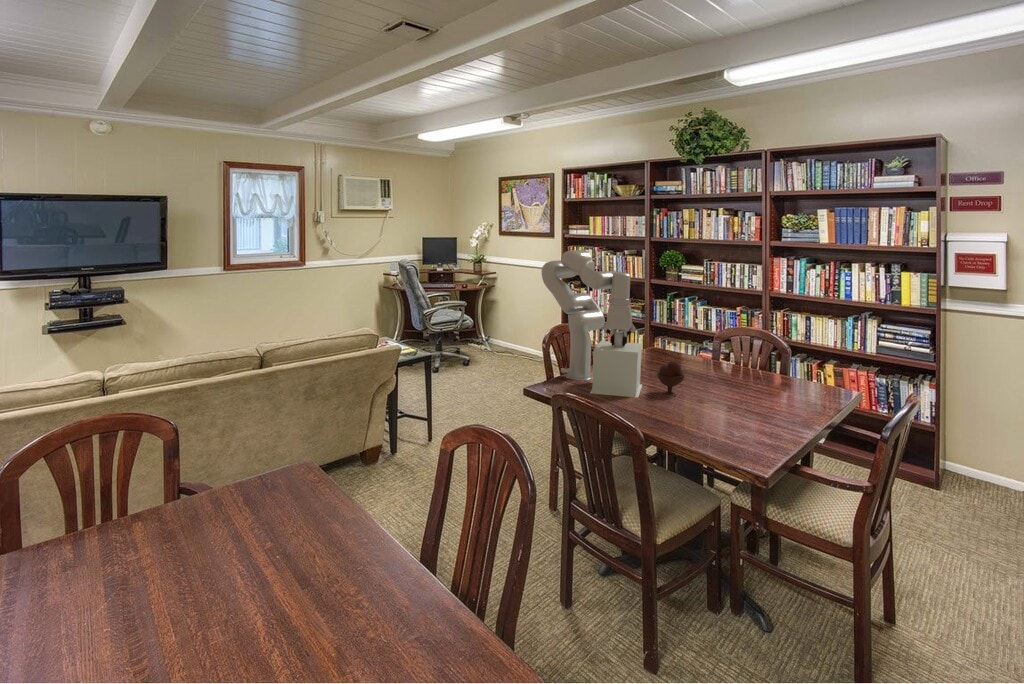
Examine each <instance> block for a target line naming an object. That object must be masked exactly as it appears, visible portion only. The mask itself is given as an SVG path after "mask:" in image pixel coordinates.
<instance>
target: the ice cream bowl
mask: <svg viewBox="0 0 1024 684" xmlns="http://www.w3.org/2000/svg"><path fill="white" fill-rule="evenodd" d="M656 373H657V377H658V380H659V382H660V383H662V384H663V385H664V386H666V387H667V391H665V392H664V394H665V395H670V396H671V395H674V396H673V398H676V397H677V395H676V393H675V392H673V387H675V386H677V385H679V384H681V383H682V382H683V380H684V379H685V374H684V373H683V370H682V366H681V364H680V363H679V362H678V361H675V360H674V361H669V362H668V363H666V364H663V365H661V367H660V368H659V370H658V371H657V372H656ZM675 396H676V397H675Z"/></svg>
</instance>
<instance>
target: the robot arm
mask: <svg viewBox="0 0 1024 684" xmlns="http://www.w3.org/2000/svg"><path fill="white" fill-rule="evenodd" d="M577 275H578V276H579V278H580V280H581V282H582V283H583V284H584V285H585V286H587V287H589V288H591V289H593V290H608V289H609V290H610V289H611V291H610V293H611V294H610V295H611V297H610V298H607V303H610V305H608V308H607V313H606V314H607V316H606V318H605V316H604V313H603V311H602V310H601V309H600V306H598V304H597V302H596V301H595V299H594V298H593V297H592V295H590V294H588V293H587V292H574V291H573V290H572V289H571V287H570V285H568V284H567V282H565V281H564V280H562V279H570V278H574V277H576V276H577ZM541 279H542V282H543V284H544V286H545V287H546V288H547V289H548V291H549V292H550V294H552V296H553V298H554V299H555V300H556V303H557V304H558V305H559V307H560V308H561V310H562V311H563V312H564V313H565V314H567V315H569V317H568V327H569V335H570V336H569V337H570V338H569V339H570V340H569V341H570V342H569V343H570V344H569V347H570V349H569V351H570V352H569V367H568V368H562V367H561V368H560V373H562V374H566V376H565V378H566V379H571V380H575V381H588V380H589V381H590V380H593V374H591V366H592V365H591V363H592V360H591V359H592V358H591V357H592V340H591V337H590V335H589V332H590V331H598V330H600V329H603V331H604V332H607V334H608V335H609V337H610V340H609V342H610V343H612V346H613V345H614V332H615V331H622V332H624V337H623V346H625V344H627V343H628V336H629V335H630V334H632V333H634V332H635V331H636V330H637V328H636V327H635V325H634V324H633V316H632V312H633V311H632V305H630V299H631V298H630V297H631V296H630V295H631V294H630V293H631V292H630V291H631V274H630V273H628V272H619V271H617V270H601V271H596V270H595V262H594V260H593V259H592V255H591V253H590V252H589V251H587V250H585V249H573V250H572V249H571V250H567V251H565V252H563V254H562V255H561V257H560V260H551V261H548V262H545V263H544V264H543V265H542V268H541ZM605 320H606V321H605Z"/></svg>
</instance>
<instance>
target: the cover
mask: <svg viewBox="0 0 1024 684" xmlns="http://www.w3.org/2000/svg"><path fill="white" fill-rule="evenodd" d="M623 337H624V331H614V345H613V346H612V343H610V340H609V341H607V340H600V341H599V342H598V344H597V345H596V346H595V347H594V348H593V355H592V357H593V358H592V360H593V361H592V375H593V378H592V386H591V387H592V389H591V390H592V393H591V394H593V393H603V394H602V395H604V394H614V395H613V396H615V395H625V396H624V397H626V396H636V395H637V392H638V389H639V386H640V384H641V371H642V370H641V369H642V368H641V367H642V349H643V347H642V346H643V343H638V342H627V344H625V346H623Z"/></svg>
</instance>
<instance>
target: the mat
mask: <svg viewBox="0 0 1024 684" xmlns="http://www.w3.org/2000/svg"><path fill="white" fill-rule="evenodd" d="M642 387H643V384H641V383H640V386H639V389H638V392H637V395H636V396H625V395H614V394H603V393H592V389H591V391H590V392H589V394H593V395H607V396H617V397H627V398H639V396H640V393H641V391H642Z"/></svg>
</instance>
